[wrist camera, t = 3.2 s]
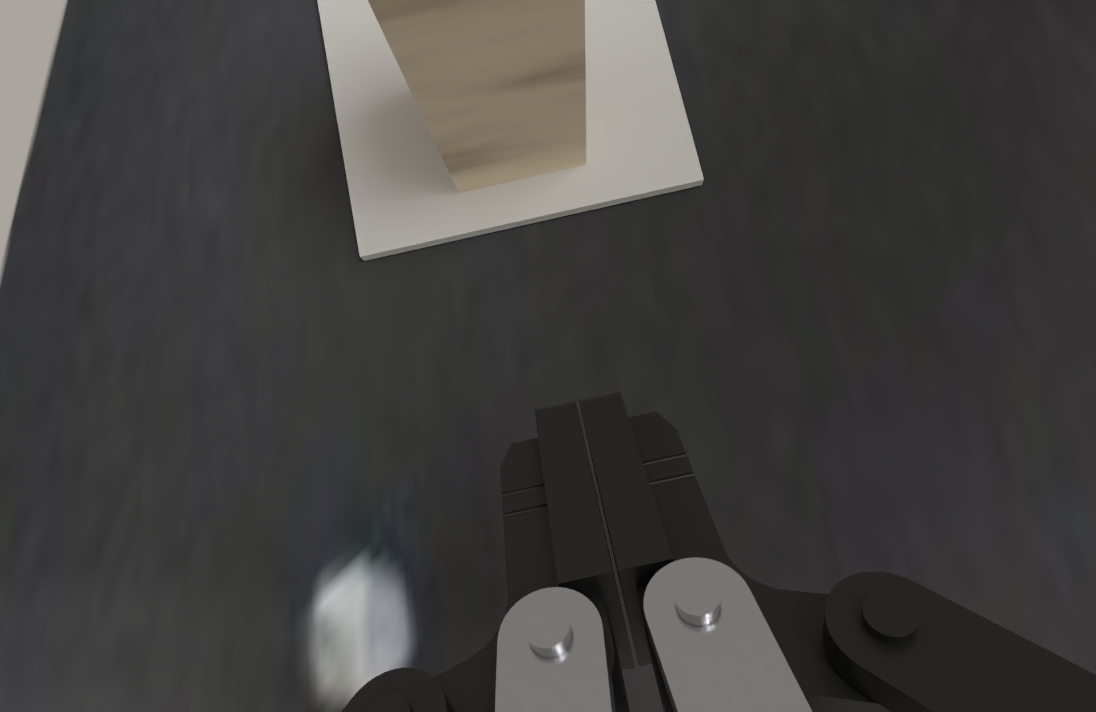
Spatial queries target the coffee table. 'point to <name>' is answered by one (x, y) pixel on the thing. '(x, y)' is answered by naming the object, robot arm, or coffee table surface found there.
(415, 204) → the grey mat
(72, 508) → the coffee table surface
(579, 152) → the maple block
